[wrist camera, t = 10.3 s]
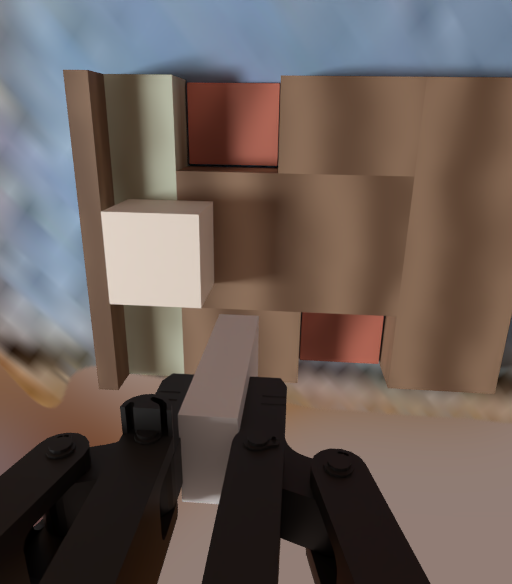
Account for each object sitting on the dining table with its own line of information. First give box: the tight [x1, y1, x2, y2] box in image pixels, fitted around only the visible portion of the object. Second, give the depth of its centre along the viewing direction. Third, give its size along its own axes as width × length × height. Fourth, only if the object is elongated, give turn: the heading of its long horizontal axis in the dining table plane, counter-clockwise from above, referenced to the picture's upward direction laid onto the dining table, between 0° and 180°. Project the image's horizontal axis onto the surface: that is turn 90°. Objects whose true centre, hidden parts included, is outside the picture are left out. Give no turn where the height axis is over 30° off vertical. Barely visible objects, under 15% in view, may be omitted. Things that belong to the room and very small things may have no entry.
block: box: [101, 199, 214, 308], centre depth 32 cm, size 6×6×5 cm
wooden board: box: [63, 70, 512, 394], centre depth 34 cm, size 30×22×6 cm
